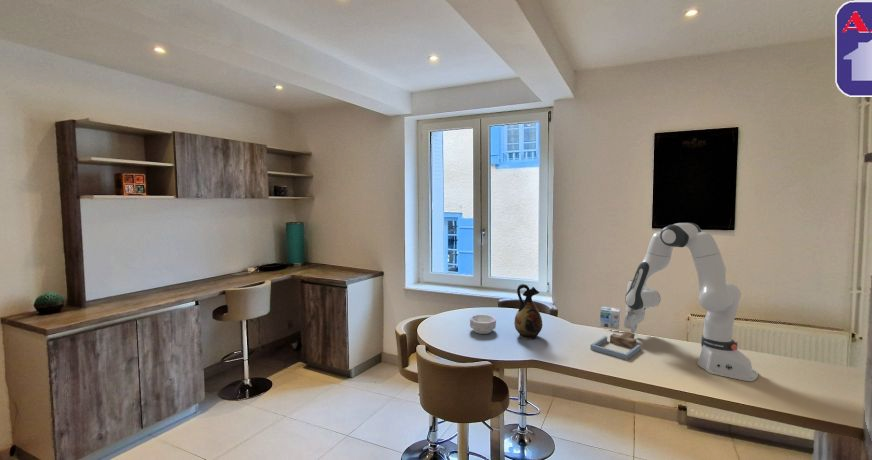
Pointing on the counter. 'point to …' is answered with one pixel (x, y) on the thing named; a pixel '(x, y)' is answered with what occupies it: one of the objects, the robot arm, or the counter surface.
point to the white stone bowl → (482, 323)
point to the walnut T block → (624, 339)
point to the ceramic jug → (528, 315)
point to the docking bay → (596, 347)
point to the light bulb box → (609, 317)
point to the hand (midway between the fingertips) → (633, 331)
